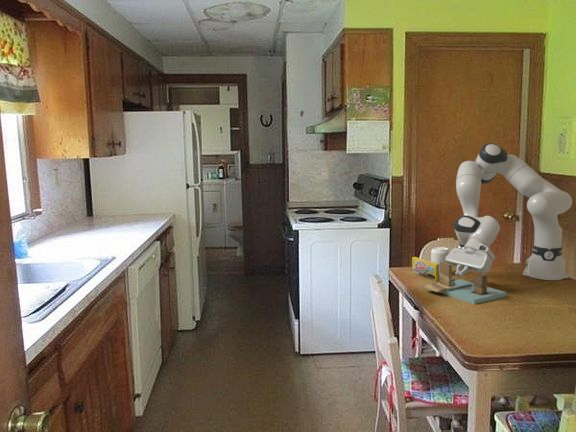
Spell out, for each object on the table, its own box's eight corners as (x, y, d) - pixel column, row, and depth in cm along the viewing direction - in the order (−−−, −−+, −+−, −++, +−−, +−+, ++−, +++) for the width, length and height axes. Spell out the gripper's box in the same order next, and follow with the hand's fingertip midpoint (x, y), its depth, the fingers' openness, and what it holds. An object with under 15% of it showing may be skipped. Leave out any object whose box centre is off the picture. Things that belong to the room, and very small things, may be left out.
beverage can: (436, 270, 246) (437, 246, 244) (451, 273, 240) (452, 248, 238) (427, 273, 240) (427, 248, 239) (442, 276, 234) (443, 251, 233)
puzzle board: (460, 284, 222) (460, 277, 221) (505, 298, 202) (506, 290, 201) (429, 291, 213) (430, 283, 212) (474, 306, 193) (474, 297, 193)
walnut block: (478, 294, 204) (479, 273, 203) (486, 297, 201) (487, 274, 200) (473, 296, 202) (474, 274, 201) (481, 298, 199) (482, 276, 198)
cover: (439, 284, 214) (439, 261, 212) (453, 288, 207) (454, 265, 205) (423, 287, 209) (423, 264, 208) (437, 292, 202) (438, 268, 201)
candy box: (411, 274, 240) (411, 257, 239) (414, 273, 241) (415, 256, 240) (435, 282, 226) (436, 264, 225) (439, 281, 227) (440, 263, 226)
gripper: (452, 241, 222) (435, 266, 219) (492, 249, 205) (474, 276, 201) (459, 249, 225) (443, 274, 222) (498, 258, 208) (481, 285, 204)
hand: (458, 275), depth 211 cm, fingers closed
